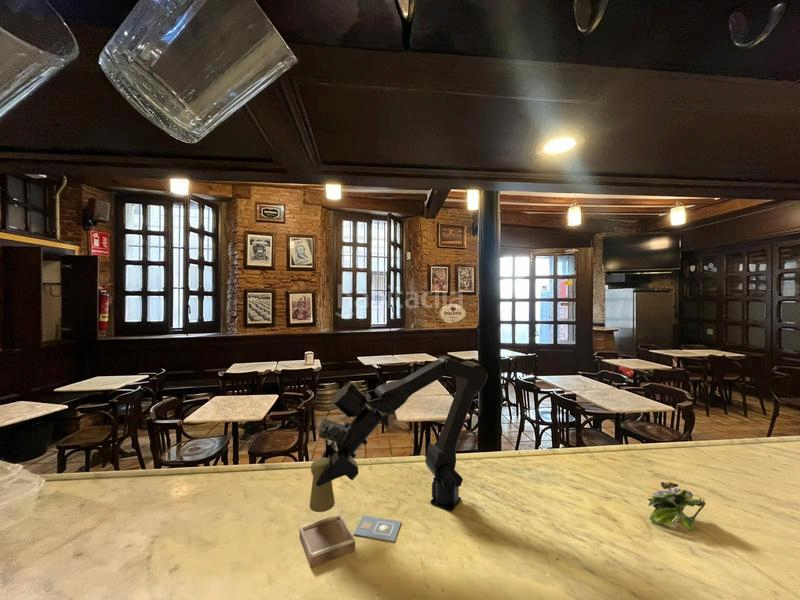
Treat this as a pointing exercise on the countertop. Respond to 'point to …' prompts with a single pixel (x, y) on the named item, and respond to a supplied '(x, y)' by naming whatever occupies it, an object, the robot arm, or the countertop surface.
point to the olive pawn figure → (321, 488)
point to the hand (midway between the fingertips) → (316, 478)
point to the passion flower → (673, 506)
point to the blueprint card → (378, 528)
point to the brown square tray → (326, 540)
